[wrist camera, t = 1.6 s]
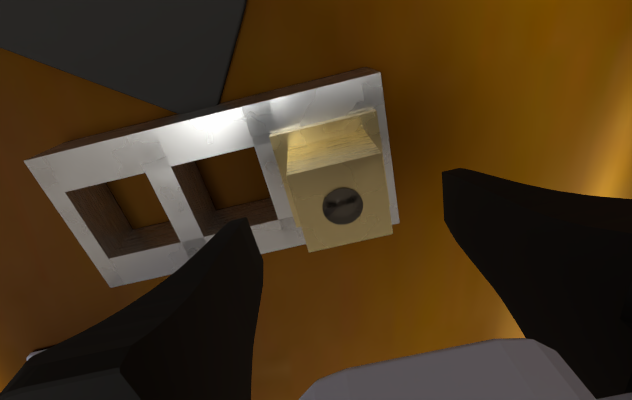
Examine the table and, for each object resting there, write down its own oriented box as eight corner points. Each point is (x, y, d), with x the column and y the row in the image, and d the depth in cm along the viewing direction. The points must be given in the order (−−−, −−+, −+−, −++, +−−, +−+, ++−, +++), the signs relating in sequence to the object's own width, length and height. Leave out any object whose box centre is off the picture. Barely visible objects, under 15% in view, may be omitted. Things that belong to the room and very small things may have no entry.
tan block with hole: (296, 197, 20) (296, 269, 14) (273, 119, 18) (262, 163, 12) (374, 179, 20) (411, 244, 14) (361, 97, 18) (399, 130, 11)
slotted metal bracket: (133, 256, 21) (110, 287, 19) (64, 142, 18) (23, 161, 15) (385, 198, 21) (399, 222, 18) (366, 66, 17) (380, 72, 14)
